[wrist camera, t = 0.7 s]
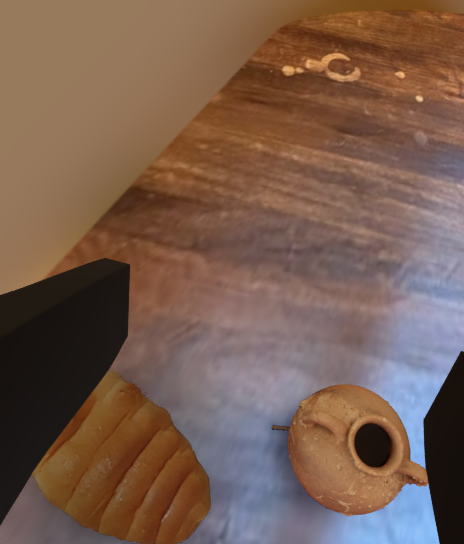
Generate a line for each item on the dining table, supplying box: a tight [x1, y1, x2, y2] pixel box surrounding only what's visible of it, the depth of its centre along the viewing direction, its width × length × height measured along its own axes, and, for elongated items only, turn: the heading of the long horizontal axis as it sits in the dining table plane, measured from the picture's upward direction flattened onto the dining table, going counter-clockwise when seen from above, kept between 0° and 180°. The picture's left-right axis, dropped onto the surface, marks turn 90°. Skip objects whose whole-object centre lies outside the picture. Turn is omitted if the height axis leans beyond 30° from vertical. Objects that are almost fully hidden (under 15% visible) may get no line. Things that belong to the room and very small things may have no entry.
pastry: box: [32, 370, 211, 544], centre depth 22 cm, size 9×7×4 cm
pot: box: [272, 384, 428, 516], centre depth 22 cm, size 6×8×6 cm
